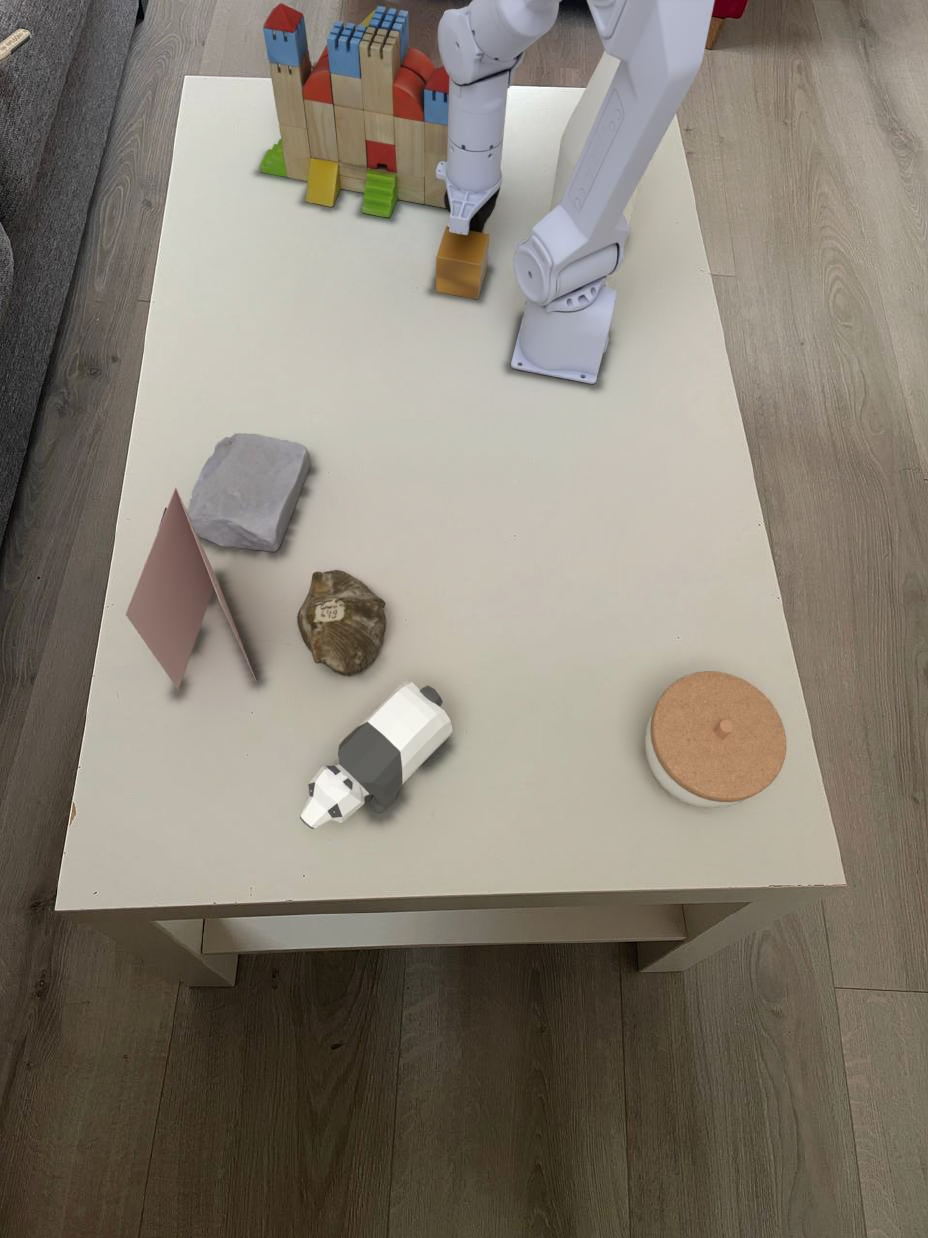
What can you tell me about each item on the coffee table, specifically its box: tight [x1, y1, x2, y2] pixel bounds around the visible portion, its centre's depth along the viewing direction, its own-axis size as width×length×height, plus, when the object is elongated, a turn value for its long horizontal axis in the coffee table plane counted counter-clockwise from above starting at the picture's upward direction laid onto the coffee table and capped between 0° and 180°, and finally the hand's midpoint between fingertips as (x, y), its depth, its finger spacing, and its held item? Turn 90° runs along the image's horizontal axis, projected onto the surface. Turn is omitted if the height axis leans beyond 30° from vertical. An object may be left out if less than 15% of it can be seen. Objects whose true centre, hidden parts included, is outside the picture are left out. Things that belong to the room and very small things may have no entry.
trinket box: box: [644, 670, 787, 809], centre depth 70 cm, size 11×11×9 cm
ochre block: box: [435, 225, 490, 300], centre depth 97 cm, size 5×5×5 cm
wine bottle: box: [549, 49, 642, 227], centre depth 90 cm, size 10×10×30 cm
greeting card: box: [124, 486, 258, 691], centre depth 71 cm, size 11×7×15 cm, turn 170°
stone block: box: [186, 432, 311, 553], centre depth 83 cm, size 12×5×10 cm
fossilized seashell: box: [296, 569, 387, 677], centre depth 76 cm, size 8×7×10 cm
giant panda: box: [299, 681, 454, 830], centre depth 68 cm, size 15×6×10 cm, turn 138°
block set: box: [259, 3, 449, 218], centre depth 98 cm, size 28×14×19 cm, turn 77°
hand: (469, 244), depth 99 cm, fingers closed
